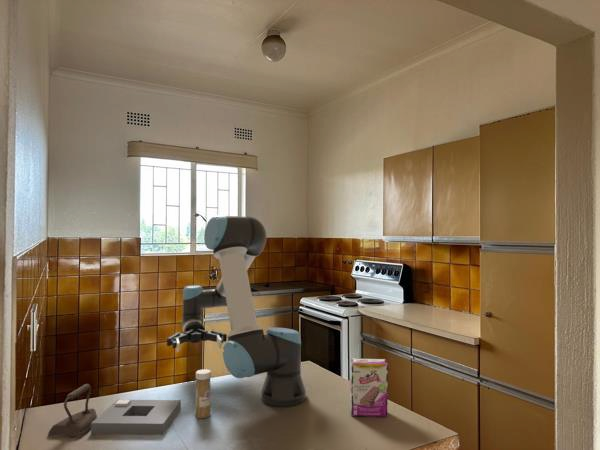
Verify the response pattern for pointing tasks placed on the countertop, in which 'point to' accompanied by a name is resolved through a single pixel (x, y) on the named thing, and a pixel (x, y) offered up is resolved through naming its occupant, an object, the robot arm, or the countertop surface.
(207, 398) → the sprinkles bottle
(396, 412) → the countertop surface
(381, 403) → the candy bar box
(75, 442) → the countertop surface
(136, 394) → the countertop surface
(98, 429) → the socket plate
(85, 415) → the clothes iron
